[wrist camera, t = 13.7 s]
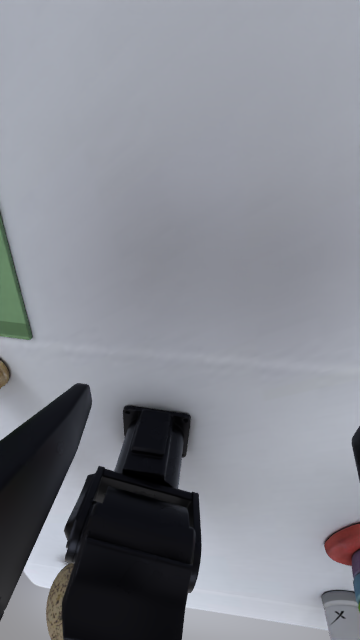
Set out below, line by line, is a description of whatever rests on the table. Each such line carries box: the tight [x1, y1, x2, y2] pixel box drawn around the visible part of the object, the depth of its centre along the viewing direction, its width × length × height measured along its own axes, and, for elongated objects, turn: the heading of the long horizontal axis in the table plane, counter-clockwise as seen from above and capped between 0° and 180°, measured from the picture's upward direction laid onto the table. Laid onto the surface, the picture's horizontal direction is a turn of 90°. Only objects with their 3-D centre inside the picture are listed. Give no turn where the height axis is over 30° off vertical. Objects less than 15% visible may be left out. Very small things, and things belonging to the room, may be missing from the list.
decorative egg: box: [46, 563, 74, 640], centre depth 49 cm, size 7×7×10 cm
